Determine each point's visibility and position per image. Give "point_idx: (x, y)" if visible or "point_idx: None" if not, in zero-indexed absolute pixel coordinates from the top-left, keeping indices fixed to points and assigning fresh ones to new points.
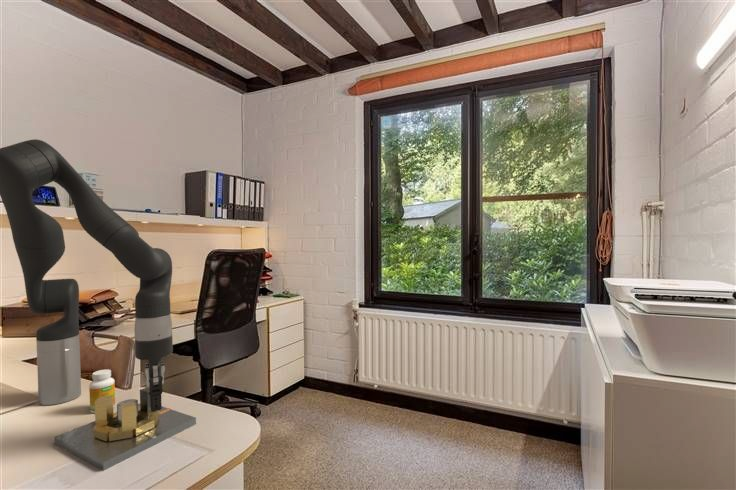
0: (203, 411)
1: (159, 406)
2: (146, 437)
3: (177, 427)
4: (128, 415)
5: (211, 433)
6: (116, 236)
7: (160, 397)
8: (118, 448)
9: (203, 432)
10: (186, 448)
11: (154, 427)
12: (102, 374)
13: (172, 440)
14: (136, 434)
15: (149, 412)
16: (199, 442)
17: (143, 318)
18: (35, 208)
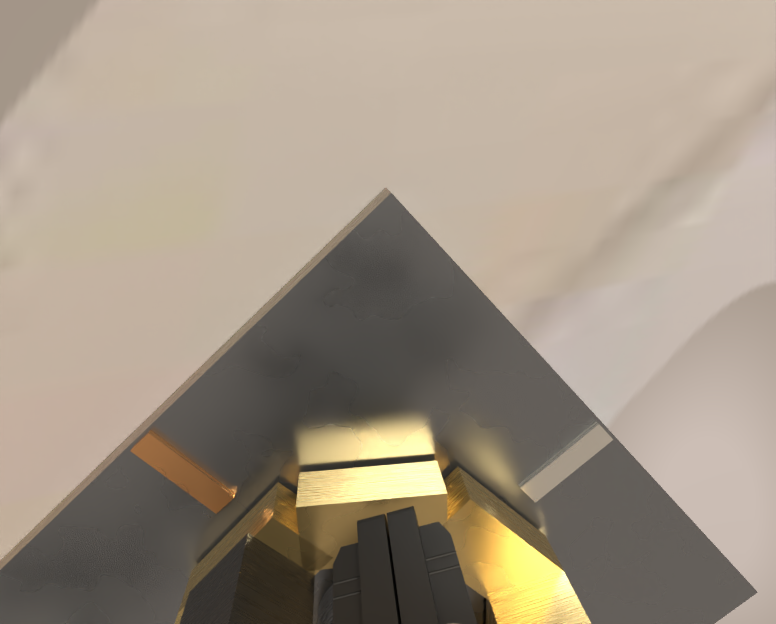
0: (147, 152)
1: (450, 537)
2: (578, 474)
3: (499, 312)
4: None
5: (596, 44)
6: None
7: (432, 597)
8: (642, 575)
9: (552, 111)
10: (727, 205)
11: (451, 464)
12: None
13: (575, 313)
14: (547, 540)
15: (312, 565)
16: (691, 126)
17: None
18: None
